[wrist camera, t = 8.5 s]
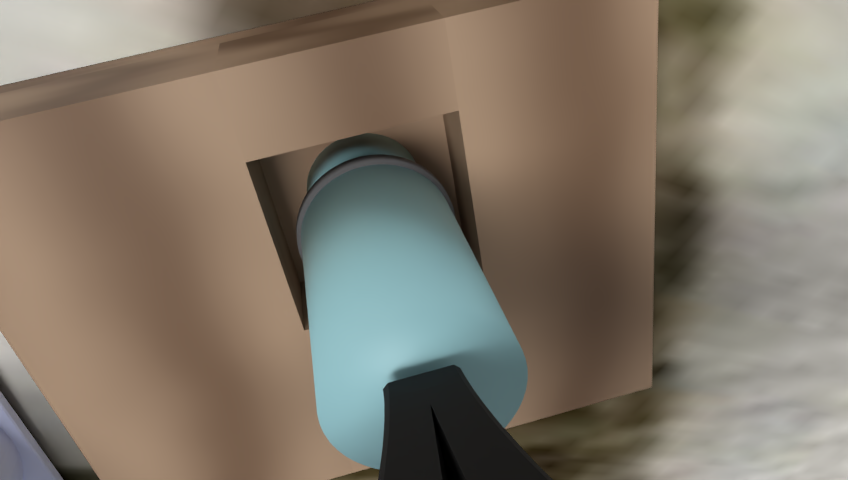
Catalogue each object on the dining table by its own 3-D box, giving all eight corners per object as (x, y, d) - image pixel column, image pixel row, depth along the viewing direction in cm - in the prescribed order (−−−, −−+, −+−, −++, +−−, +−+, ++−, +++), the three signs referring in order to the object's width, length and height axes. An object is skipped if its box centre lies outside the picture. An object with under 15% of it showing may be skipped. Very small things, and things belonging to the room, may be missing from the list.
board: (150, 456, 25) (136, 534, 22) (-60, 99, 17) (-122, 148, 14) (610, 329, 26) (651, 387, 23) (600, -51, 19) (658, -32, 16)
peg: (311, 260, 21) (338, 497, 13) (275, 138, 19) (284, 338, 11) (441, 229, 21) (539, 442, 14) (421, 105, 19) (524, 278, 12)
